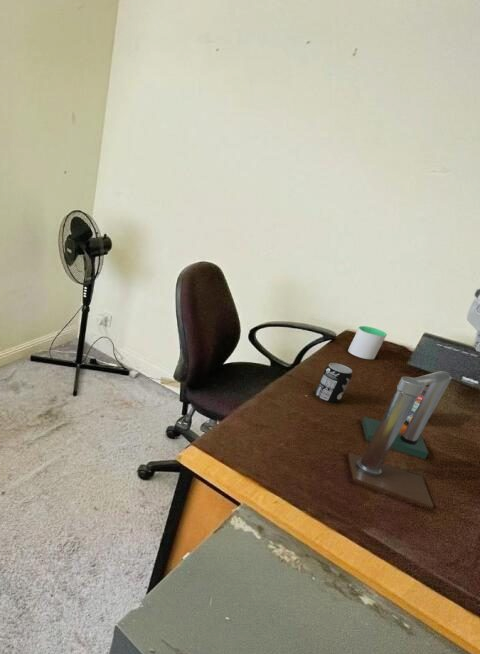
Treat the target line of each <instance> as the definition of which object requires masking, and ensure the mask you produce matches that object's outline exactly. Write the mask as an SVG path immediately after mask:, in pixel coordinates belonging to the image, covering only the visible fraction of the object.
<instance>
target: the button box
mask: <svg viewBox="0 0 480 654" xmlns="http://www.w3.org/2000/svg"><path fill="white" fill-rule="evenodd" d="M380 422H381V420H377V419H374V418H370V417H367V416H364V417H362V420H361V424H362V428H363V433H364V436H365V440H366V441H368V442H369V443H370V442H371V440H372V438H373V436H374V434H375V432H376V430H377V428H378V426H379V424H380ZM421 434H422V433H421ZM421 434H420V436H419V437H418V439H417V440H418V442H417V443H416V444H415V445H412V444H408V443H406V442H404V441H402V440H401V439H400V437H401V435H402V434H401V433H399V434H398V436H397V438H396V439H395V441H394V443H393V445H392V447H391V449H390V450H394V451H398V452H401V453H404V454H407V455H410V456H412V457H416V458H420V459H423V460H426V458H427V457H428V455H429V451H428V449H427V446H426V444H425V441H424V439H423V436H422V435H421Z"/></svg>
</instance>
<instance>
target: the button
mask: <svg viewBox="0 0 480 654" xmlns="http://www.w3.org/2000/svg"><path fill="white" fill-rule="evenodd" d="M407 426H408V425H406V424H405V423H404V425H403V426H402V428H401V430H400V432H399V433H401V434H403V433H404V432H405V430H406V428H407Z"/></svg>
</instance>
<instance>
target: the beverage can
mask: <svg viewBox="0 0 480 654" xmlns="http://www.w3.org/2000/svg"><path fill="white" fill-rule="evenodd" d="M352 373H353V370H352V369H351V368H350V367H348V366H346V365H345V364H341V363H337V362H330V363H328V365H327V366H325V368H324V370H323V372H322V375H321V377H320V379H319V381H318V383H317V386H316V387H315V390H314V395H315V396H316V397H317V398H318V399H320V400H321V401H324V402H327V403H329V404H337V403H340V401H341V400H342V397H343V395H344V393H345V391H346V389H347V387H348V385H349V383H350V381H351V380H352V377H353V374H352Z"/></svg>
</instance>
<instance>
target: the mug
mask: <svg viewBox="0 0 480 654" xmlns="http://www.w3.org/2000/svg"><path fill="white" fill-rule="evenodd" d="M386 338H387V333H386V332H385V331H383V330H381V329H379V328H376V327H372V326H366V325H361V326H359V327H358V328H357V331H356V333H355V335H354V337H353V339H352V340H351V342H350V345H349V347H348V350H347V352H348V353H349V354H351V355H353V356H355V357H357V358H360V359H364V360H375V358H377V357H376V356H377V354H378V352H379V351H380V349H381V347H382V345H383V344H384V340H385V339H386Z"/></svg>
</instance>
